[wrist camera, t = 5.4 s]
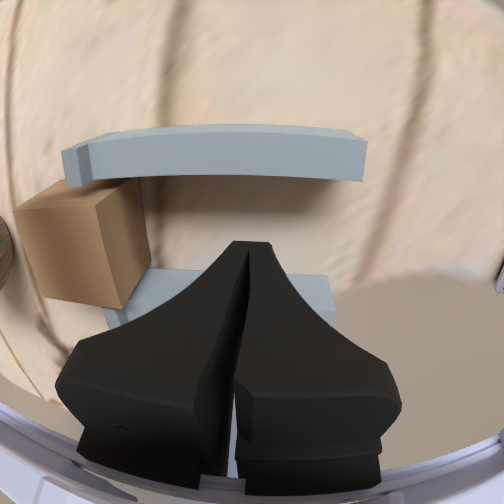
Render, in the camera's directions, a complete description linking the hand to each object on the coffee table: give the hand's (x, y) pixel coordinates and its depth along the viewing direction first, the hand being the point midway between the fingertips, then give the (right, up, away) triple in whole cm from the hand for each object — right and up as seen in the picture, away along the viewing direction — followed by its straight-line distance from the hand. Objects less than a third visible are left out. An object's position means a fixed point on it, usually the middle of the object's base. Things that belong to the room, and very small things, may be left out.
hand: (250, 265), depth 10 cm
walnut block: (-8, +2, +4) cm, 9 cm away
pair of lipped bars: (-1, +2, +3) cm, 4 cm away
